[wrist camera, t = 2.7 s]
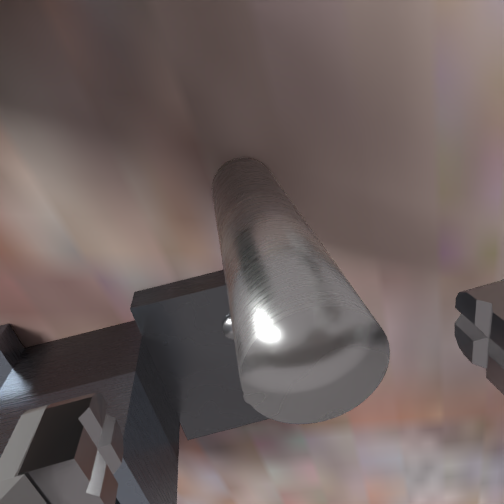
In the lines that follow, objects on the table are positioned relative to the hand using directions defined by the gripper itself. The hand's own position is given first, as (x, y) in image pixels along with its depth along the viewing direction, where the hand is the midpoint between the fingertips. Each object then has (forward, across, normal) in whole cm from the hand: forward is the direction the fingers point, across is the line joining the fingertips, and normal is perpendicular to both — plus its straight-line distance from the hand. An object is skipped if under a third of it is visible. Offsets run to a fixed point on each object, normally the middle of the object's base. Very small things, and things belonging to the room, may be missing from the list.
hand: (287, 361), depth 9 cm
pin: (+11, -1, -1) cm, 11 cm away
